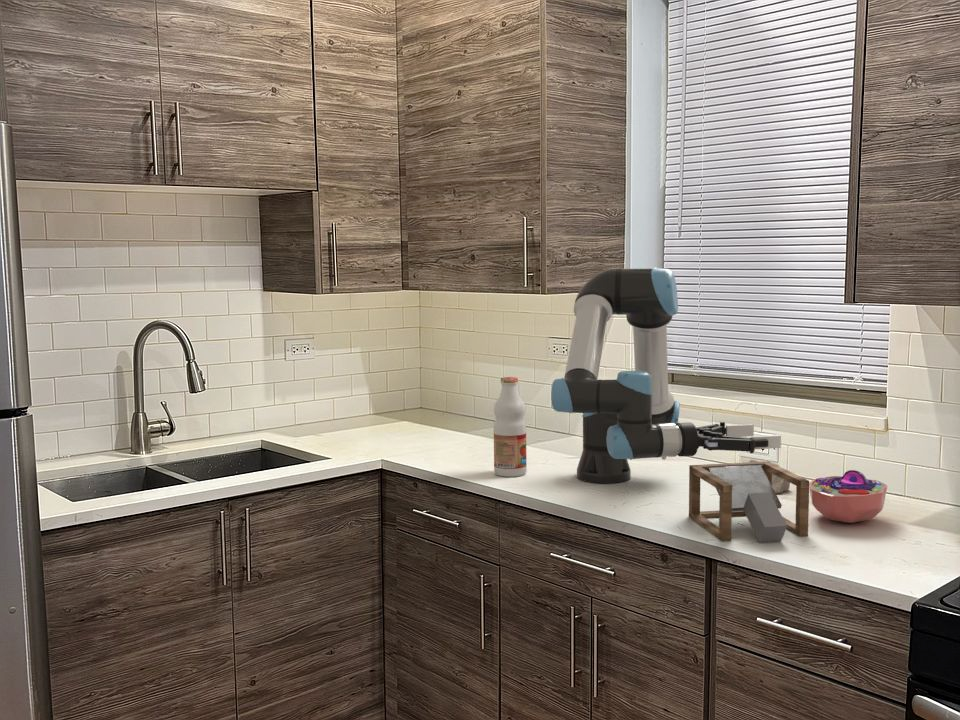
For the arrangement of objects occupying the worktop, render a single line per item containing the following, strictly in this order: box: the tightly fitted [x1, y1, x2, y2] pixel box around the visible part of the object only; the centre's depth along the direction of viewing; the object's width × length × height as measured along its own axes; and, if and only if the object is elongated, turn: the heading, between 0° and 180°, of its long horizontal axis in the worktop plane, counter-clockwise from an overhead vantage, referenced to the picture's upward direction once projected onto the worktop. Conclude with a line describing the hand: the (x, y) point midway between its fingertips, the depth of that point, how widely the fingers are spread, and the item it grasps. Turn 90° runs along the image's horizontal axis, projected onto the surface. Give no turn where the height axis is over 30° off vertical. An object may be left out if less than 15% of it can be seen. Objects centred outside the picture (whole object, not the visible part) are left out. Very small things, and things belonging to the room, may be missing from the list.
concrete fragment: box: [748, 459, 791, 494], centre depth 250 cm, size 8×16×7 cm, turn 21°
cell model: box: [809, 469, 888, 524], centre depth 219 cm, size 17×20×11 cm
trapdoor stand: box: [688, 460, 810, 542], centre depth 215 cm, size 20×20×12 cm
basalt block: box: [743, 492, 787, 544], centre depth 205 cm, size 5×5×10 cm
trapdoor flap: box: [705, 465, 783, 511], centre depth 216 cm, size 14×14×1 cm
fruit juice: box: [493, 376, 527, 478], centre depth 268 cm, size 9×9×28 cm
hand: (766, 435), depth 211 cm, fingers open, 13 cm apart
